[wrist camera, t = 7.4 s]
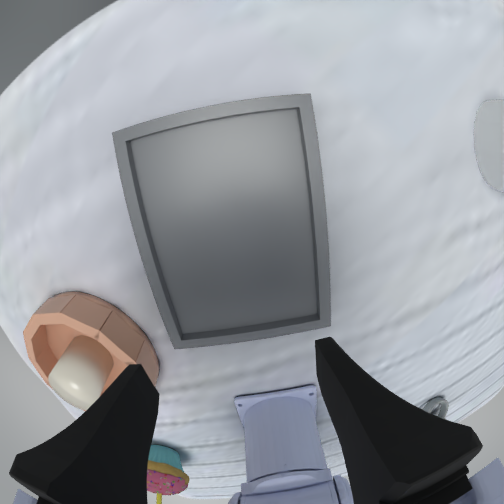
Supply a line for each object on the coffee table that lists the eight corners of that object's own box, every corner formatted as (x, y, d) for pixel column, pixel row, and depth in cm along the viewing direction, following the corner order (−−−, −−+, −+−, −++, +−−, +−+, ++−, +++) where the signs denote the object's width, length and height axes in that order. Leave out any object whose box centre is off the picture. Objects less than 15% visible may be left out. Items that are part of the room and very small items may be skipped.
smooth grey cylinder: (120, 373, 21) (104, 413, 17) (84, 370, 21) (65, 406, 17) (101, 335, 20) (78, 375, 15) (64, 334, 20) (39, 369, 15)
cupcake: (200, 463, 30) (197, 531, 19) (151, 462, 30) (141, 523, 19) (174, 437, 27) (163, 518, 16) (121, 436, 27) (102, 506, 16)
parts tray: (325, 315, 21) (330, 326, 19) (177, 338, 21) (174, 349, 20) (305, 97, 15) (310, 93, 14) (121, 133, 15) (112, 132, 14)
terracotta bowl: (178, 396, 24) (173, 423, 20) (79, 391, 24) (69, 412, 21) (127, 283, 19) (109, 307, 16) (24, 297, 19) (4, 315, 16)
